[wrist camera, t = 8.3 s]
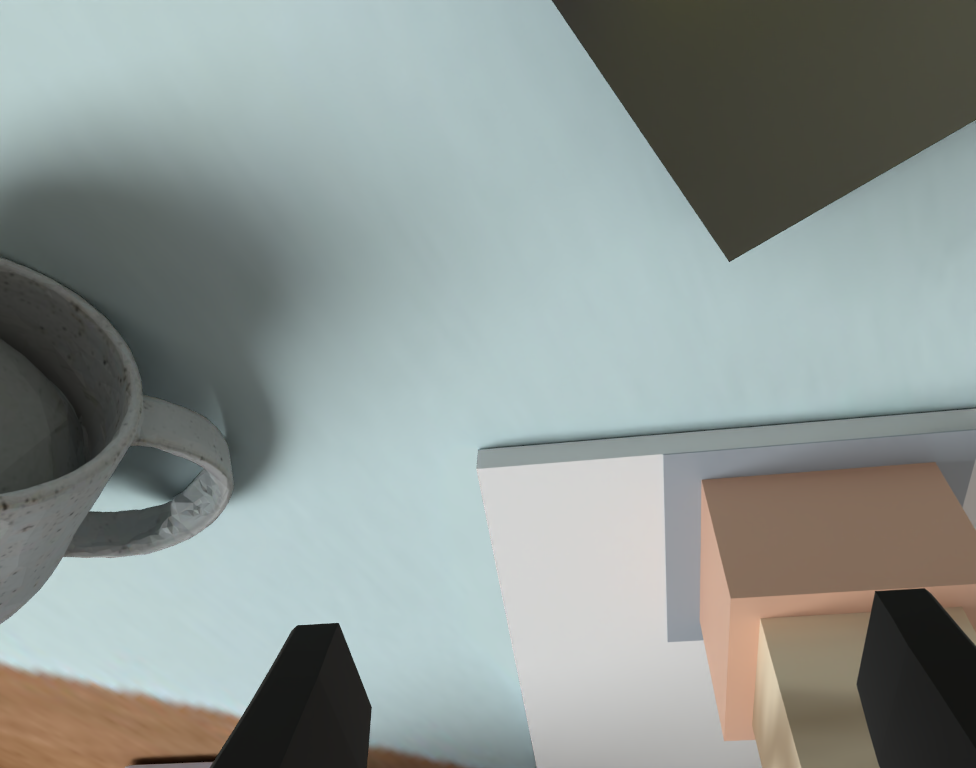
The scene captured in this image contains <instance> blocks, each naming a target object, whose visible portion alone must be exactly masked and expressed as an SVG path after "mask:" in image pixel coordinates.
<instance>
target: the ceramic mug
mask: <svg viewBox="0 0 976 768" xmlns="http://www.w3.org/2000/svg"><path fill="white" fill-rule="evenodd" d="M130 446H149V447H154V448H157V449H160V450H162V451H165V452H168V453H170V454H173V455H176V456H179V457H182V458H185V459H187V460H189V461H192V462H194V463H196V464H198V465H200V466H201V467H203V468H204V469H203V470H202V471H201V472H200V473H199V475H198V476H197V477H196V478H195V479H194V481H193V482H192V483H191V484H190V485H189V486H188V487H187V488H186V489H185V490H184V491H183V492H181V493H180V494H178V495H176V496H175V497H174V498H173V500H172V501H170V502H168V503H165V504H163V505H159V506H154V507H150V508H146V509H142V510H128V511H119V512H92V511H90V509H91V508H92V506H93V505H94V503H95V502H96V500H97V499H98V497H99V495H100V494H101V492H102V490H103V489H104V487H105V485H106V484H107V482H108V481H109V479H110V477H111V476H112V474H113V472H114V471H115V469H116V468H117V466H118V464H119V463H120V461H121V460H122V458H123V457H124V455H125V453H126V452H127V450H128V448H129V447H130ZM233 489H234V483H233V474H232V467H231V460H230V453H229V448H228V444H227V442H226V440H225V439H224V437H223V436H222V434H221V433H220V431H219V430H218V428H217V427H216V426H215V425H213V424H212V423H211V422H210V421H209V420H208V419H207V418H206V417H204V416H202V415H200V414H198V413H196V412H194V411H192V410H189V409H187V408H184V407H182V406H179V405H176V404H173V403H171V402H168V401H165V400H162V399H159V398H155V397H151V396H147V395H143V393H142V381H141V377H140V373H139V370H138V367H137V364H136V362H135V359H134V357H133V355H132V353H131V351H130V349H129V347H128V345H127V344H126V342H125V341H124V339H123V338H122V337H121V335H120V334H119V333H118V331H117V330H116V329H115V328H114V327H113V326H112V325H111V323H110V322H109V321H108V320H107V318H106V317H105V316H104V315H103V314H101V313H100V312H99V311H98V310H96V309H95V308H94V307H93V306H91V305H90V304H89V303H88V302H87V301H85V300H84V299H83V298H82V297H81V296H79V295H78V294H76V293H74V292H73V291H71V290H70V289H68V288H66V287H65V286H63V285H61V284H60V283H58V282H56V281H55V280H53V279H51V278H49V277H47V276H45V275H43V274H41V273H38V272H36V271H34V270H32V269H30V268H28V267H25V266H23V265H19V264H17V263H15V262H13V261H10V260H7V259H4V258H0V624H1V623H3V622H4V621H5V620H7V619H8V618H9V617H11V616H12V615H13V614H14V613H16V612H17V611H18V610H19V609H20V608H21V607H22V606H23V605H24V604H26V603H27V602H28V601H29V600H30V599H31V598H32V597H33V596H34V595H35V594H36V593H37V592H38V591H39V590H40V589H41V587H42V586H43V585H44V584H45V582H46V581H47V580H48V579H49V577H50V576H51V575H52V573H53V572H54V570H55V569H56V567H57V565H58V564H59V562H60V561H61V559H62V557H82V558H92V557H106V558H114V557H124V556H133V555H141V554H149V553H152V552H155V551H159V550H162V549H165V548H168V547H171V546H174V545H176V544H178V543H181V542H183V541H185V540H187V539H190V538H191V537H193V536H195V535H196V534H198V533H199V532H201V531H202V530H204V529H205V528H206V527H208V526H209V525H210V524H211V523H213V522H214V521H215V520H216V519H217V518H218V516H219V515H220V514H221V513H222V512H223V510H224V509H225V507H226V505H227V504H228V502H229V500H230V498H231V495H232V492H233Z"/></svg>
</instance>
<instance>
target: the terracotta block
mask: <svg viewBox="0 0 976 768" xmlns="http://www.w3.org/2000/svg"><path fill="white" fill-rule="evenodd" d="M919 588H925V589H926V590H927V591H929V592H930V593H931V594H932V595H933V596H934V597H935V598H936V600H937V601H938V602H939V603H940V604H941V606H942V607H943V608H948V607H962V608H963V610H964V612H965V613H966V615H967V617H968V619H969V621H970V623H971V625H972V627H973V629H974V631H975V633H976V530H975V528H974V526H973V525H972V523H971V521H970V520H969V518H968V516H967V515H966V513H965V511H964V510H963V508H962V506H961V505H960V503H959V501H958V499H957V498H956V496H955V494H954V493H953V491H952V489H951V488H950V486H949V484H948V483H947V481H946V479H945V478H944V476H943V474H942V473H941V471H940V469H939V467H938V466H937V464H936V462H929V463H916V464H903V465H890V466H877V467H863V468H850V469H837V470H824V471H811V472H798V473H784V474H771V475H758V476H745V477H732V478H718V479H705V480H701V554H700V625H701V630H702V635H703V640H704V645H705V650H706V655H707V659H708V664H709V669H710V674H711V679H712V684H713V689H714V694H715V699H716V704H717V709H718V714H719V719H720V723H721V728H722V733H723V738H724V741H739V740H755V735H754V731H753V727H752V721H753V707H754V694H755V681H756V667H757V654H758V641H759V627H760V618H777V617H794V616H811V615H828V614H846V613H863V612H871V609H872V604H873V599H874V594H875V591H886V590H902V589H919Z"/></svg>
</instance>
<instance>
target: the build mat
mask: <svg viewBox="0 0 976 768" xmlns="http://www.w3.org/2000/svg"><path fill="white" fill-rule="evenodd" d="M929 462H936V464H937V466H938V467H939V469H940V471H941V473H942V474H943V476H944V478H945V479H946V481H947V483H948V484H949V486H950V488H951V489H952V491H953V493H954V494H955V496H956V498H957V499H958V501H959V503H960V505H961V506H962V508H963V510H964V511H965V513H966V515H967V516H968V518H969V520H970V521H971V523H972V525H973V526H974V528H975V530H976V409H964V410H952V411H940V412H928V413H915V414H903V415H891V416H879V417H867V418H855V419H843V420H831V421H819V422H807V423H795V424H783V425H770V426H758V427H746V428H734V429H722V430H710V431H698V432H686V433H674V434H662V435H650V436H638V437H625V438H613V439H601V440H589V441H577V442H565V443H553V444H541V445H529V446H517V447H505V448H493V449H480V450H478V455H477V474H478V479H479V484H480V489H481V494H482V499H483V504H484V509H485V514H486V519H487V524H488V529H489V534H490V539H491V543H492V548H493V553H494V558H495V563H496V568H497V573H498V578H499V583H500V588H501V593H502V598H503V603H504V608H505V613H506V618H507V623H508V628H509V633H510V638H511V642H512V647H513V652H514V657H515V662H516V667H517V672H518V677H519V682H520V687H521V692H522V697H523V702H524V707H525V712H526V717H527V722H528V727H529V732H530V737H531V741H532V746H533V751H534V756H535V761H536V766H537V768H762V765H761V761H760V757H759V752H758V748H757V744H756V740H739V741H724V738H723V733H722V728H721V723H720V719H719V714H718V709H717V704H716V699H715V694H714V689H713V684H712V679H711V674H710V669H709V664H708V659H707V655H706V650H705V645H704V640H703V635H702V630H701V625H700V554H701V480H705V479H718V478H732V477H745V476H758V475H771V474H784V473H798V472H811V471H824V470H837V469H850V468H863V467H877V466H890V465H903V464H916V463H929Z"/></svg>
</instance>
